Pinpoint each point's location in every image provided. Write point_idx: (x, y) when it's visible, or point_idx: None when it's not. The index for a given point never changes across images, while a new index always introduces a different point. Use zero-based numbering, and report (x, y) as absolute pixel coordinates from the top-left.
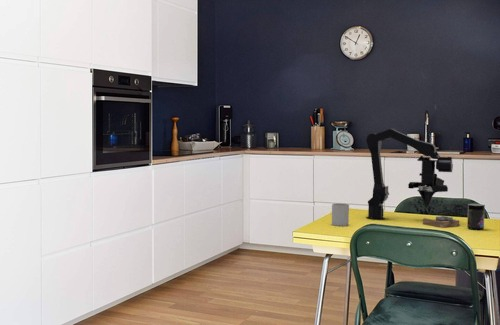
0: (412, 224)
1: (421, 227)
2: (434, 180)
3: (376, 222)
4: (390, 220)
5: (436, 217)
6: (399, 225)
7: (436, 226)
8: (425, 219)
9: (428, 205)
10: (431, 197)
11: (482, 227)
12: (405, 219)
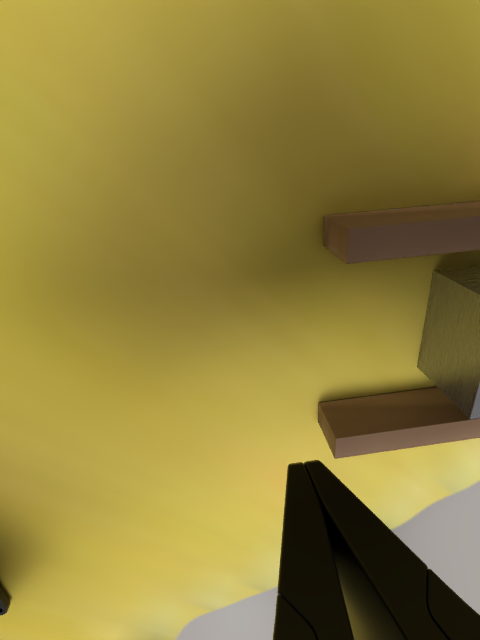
0: None
1: (416, 500)
2: None
3: (128, 623)
4: (54, 530)
5: (473, 413)
6: None
7: None
8: (364, 450)
9: (322, 464)
10: (467, 614)
11: None
12: (11, 402)
